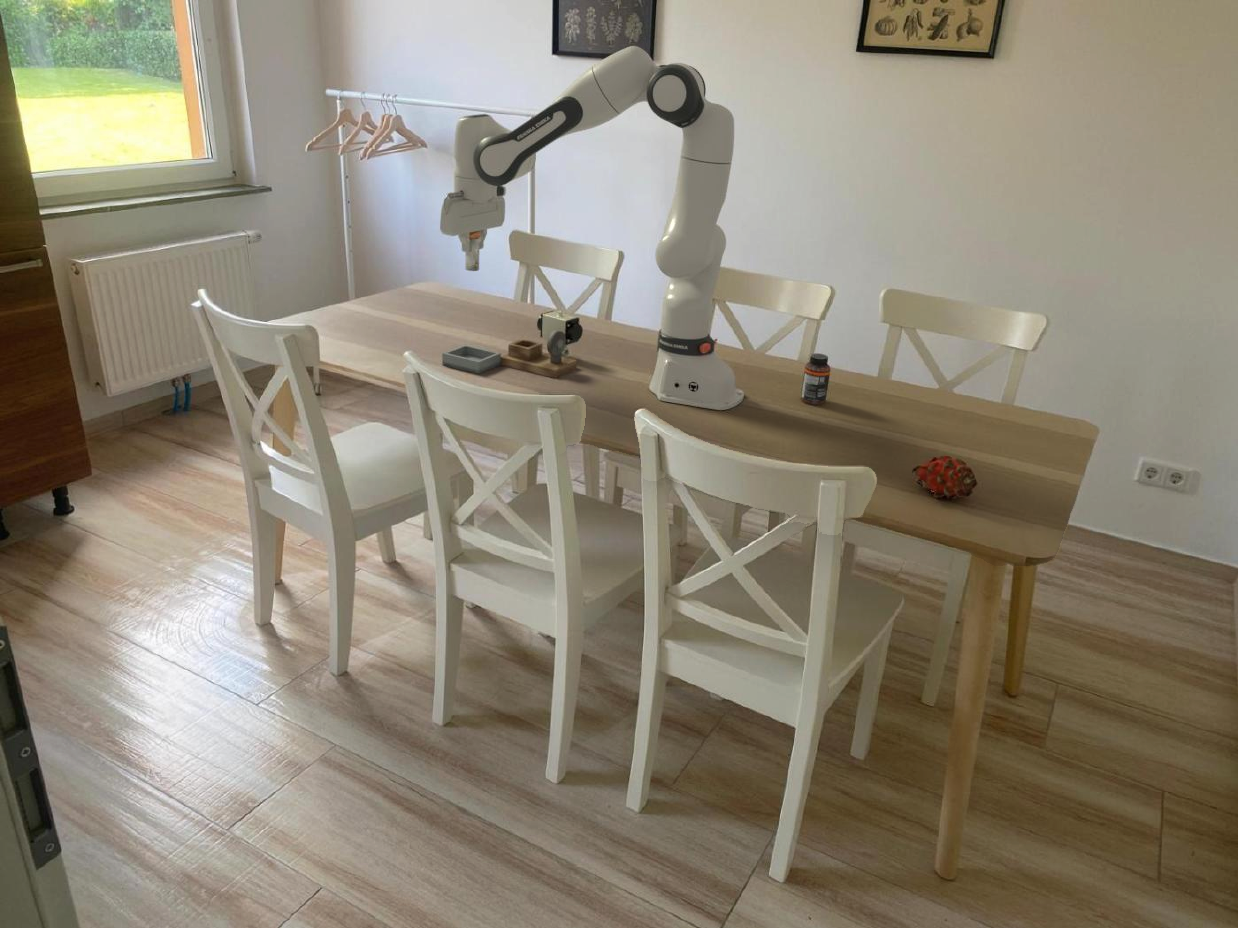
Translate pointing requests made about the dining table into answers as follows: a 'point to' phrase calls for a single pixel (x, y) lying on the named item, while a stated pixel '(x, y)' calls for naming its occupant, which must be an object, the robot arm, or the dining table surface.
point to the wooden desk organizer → (540, 356)
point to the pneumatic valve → (560, 327)
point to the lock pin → (473, 252)
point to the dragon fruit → (946, 477)
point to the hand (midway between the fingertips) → (472, 250)
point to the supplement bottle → (815, 380)
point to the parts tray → (471, 359)
